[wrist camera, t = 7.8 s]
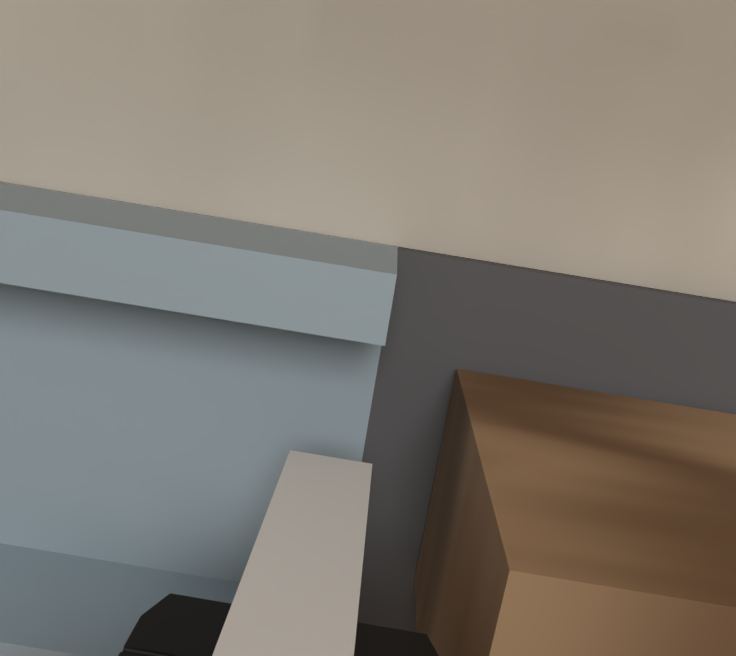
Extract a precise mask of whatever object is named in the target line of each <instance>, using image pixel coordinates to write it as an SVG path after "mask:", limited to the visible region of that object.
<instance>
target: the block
mask: <svg viewBox="0 0 736 656" xmlns="http://www.w3.org/2000/svg"><path fill="white" fill-rule="evenodd" d="M415 601H416V629H417V632H418V633H423V634H427V636H428V638H429V639H430V641H431V643H432V645H433V646H434V648H435V650H436V652H437V653H438V655H439V656H736V414H730V413H724V412H718V411H712V410H706V409H700V408H694V407H688V406H681V405H675V404H669V403H663V402H657V401H651V400H645V399H639V398H633V397H627V396H620V395H614V394H608V393H602V392H596V391H590V390H584V389H578V388H572V387H566V386H559V385H553V384H547V383H541V382H535V381H529V380H523V379H517V378H511V377H505V376H498V375H492V374H486V373H480V372H474V371H468V370H462V369H457V370H456V375H455V380H454V385H453V390H452V395H451V400H450V405H449V410H448V415H447V420H446V425H445V430H444V435H443V440H442V445H441V450H440V455H439V460H438V465H437V470H436V475H435V480H434V485H433V490H432V495H431V500H430V505H429V510H428V515H427V519H426V524H425V529H424V534H423V539H422V544H421V549H420V554H419V559H418V564H417V569H416V574H415Z"/></svg>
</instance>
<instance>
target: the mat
mask: <svg viewBox="0 0 736 656" xmlns="http://www.w3.org/2000/svg"><path fill="white" fill-rule="evenodd" d="M457 369H462V370H468V371H474V372H480V373H486V374H492V375H498V376H505V377H511V378H517V379H523V380H529V381H535V382H541V383H547V384H553V385H559V386H566V387H572V388H578V389H584V390H590V391H596V392H602V393H608V394H614V395H620V396H627V397H633V398H639V399H645V400H651V401H657V402H663V403H669V404H675V405H681V406H688V407H694V408H700V409H706V410H712V411H718V412H724V413H730V414H736V302H733V301H727V300H721V299H715V298H708V297H702V296H696V295H690V294H684V293H678V292H672V291H666V290H660V289H653V288H647V287H641V286H635V285H629V284H623V283H617V282H611V281H604V280H598V279H592V278H586V277H580V276H574V275H568V274H562V273H555V272H549V271H543V270H537V269H531V268H525V267H519V266H513V265H506V264H500V263H494V262H488V261H482V260H476V259H470V258H464V257H458V256H451V255H445V254H439V253H433V252H427V251H421V250H415V249H409V248H402V247H398V255H397V278H396V284H395V290H394V296H393V302H392V307H391V313H390V319H389V325H388V331H387V337H386V343H385V346H381V351H380V356H379V362H378V368H377V374H376V380H375V386H374V392H373V398H372V404H371V410H370V416H369V421H368V427H367V433H366V439H365V445H364V451H363V457H362V462H364V463H370V464H372V473H371V484H370V494H369V504H368V515H367V525H366V535H365V546H364V556H363V566H362V577H361V587H360V597H359V608H358V618H357V622H358V623H364V624H370V625H376V626H382V627H388V628H394V629H400V630H406V631H412V632H417V629H416V601H415V574H416V569H417V564H418V559H419V554H420V549H421V544H422V539H423V534H424V529H425V524H426V519H427V515H428V510H429V505H430V500H431V495H432V490H433V485H434V480H435V475H436V470H437V465H438V460H439V455H440V450H441V445H442V440H443V435H444V430H445V425H446V420H447V415H448V410H449V405H450V400H451V395H452V390H453V385H454V380H455V375H456V370H457Z"/></svg>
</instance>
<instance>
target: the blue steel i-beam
mask: <svg viewBox="0 0 736 656" xmlns="http://www.w3.org/2000/svg"><path fill="white" fill-rule="evenodd" d="M397 255H398V247H396V246H390V245H384V244H378V243H372V242H366V241H360V240H353V239H347V238H341V237H335V236H329V235H323V234H317V233H311V232H304V231H298V230H292V229H286V228H280V227H274V226H268V225H262V224H256V223H249V222H243V221H237V220H231V219H225V218H219V217H213V216H207V215H200V214H194V213H188V212H182V211H176V210H170V209H164V208H158V207H151V206H145V205H139V204H133V203H127V202H121V201H115V200H109V199H102V198H96V197H90V196H84V195H78V194H72V193H66V192H60V191H54V190H47V189H41V188H35V187H29V186H23V185H17V184H11V183H5V182H0V656H118V655H119V653H120V652H122V651H123V648H124V645H125V643H126V641H127V639H128V638H129V636H130V634H131V632H132V630H133V629H134V627H135V625H136V623H137V622H138V620H139V618H140V616H141V615H142V614H144V613H145V612H146V611H148V610H149V609H150V608H152V607H153V606H154V605H155V604H157V603H158V602H159V601H161V600H162V599H163V598H165V597H166V596H167V595H168V594H170V593H172V594H178V595H184V596H190V597H195V598H201V599H207V600H213V601H219V602H225V603H231V604H232V602H233V599H234V597H235V594H236V592H237V589H238V586H239V584H240V581H241V578H242V576H243V573H244V570H245V568H246V565H247V562H248V560H249V557H250V555H251V552H252V549H253V547H254V544H255V541H256V539H257V536H258V533H259V531H260V528H261V526H262V523H263V520H264V518H265V515H266V512H267V510H268V507H269V504H270V502H271V499H272V496H273V494H274V491H275V489H276V486H277V483H278V481H279V478H280V475H281V473H282V470H283V467H284V465H285V462H286V460H287V457H288V454H289V452H290V450H293V451H299V452H305V453H311V454H317V455H323V456H329V457H335V458H341V459H347V460H353V461H359V462H362V457H363V451H364V445H365V439H366V433H367V427H368V421H369V416H370V410H371V404H372V398H373V392H374V386H375V380H376V374H377V368H378V362H379V356H380V351H381V346H385V343H386V337H387V331H388V325H389V319H390V313H391V307H392V302H393V296H394V290H395V284H396V278H397Z"/></svg>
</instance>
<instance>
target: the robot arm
mask: <svg viewBox="0 0 736 656" xmlns="http://www.w3.org/2000/svg"><path fill="white" fill-rule="evenodd" d="M371 473H372V464H370V463H364V462H359V461H353V460H347V459H341V458H335V457H329V456H323V455H317V454H311V453H305V452H299V451H293V450H290V452H289V454H288V457H287V460H286V462H285V465H284V467H283V470H282V473H281V475H280V478H279V481H278V483H277V486H276V489H275V491H274V494H273V496H272V499H271V502H270V504H269V507H268V510H267V512H266V515H265V518H264V520H263V523H262V526H261V528H260V531H259V533H258V536H257V539H256V541H255V544H254V547H253V549H252V552H251V555H250V557H249V560H248V562H247V565H246V568H245V570H244V573H243V576H242V578H241V581H240V584H239V586H238V589H237V592H236V594H235V597H234V599H233V602H232V604H231V603H225V602H219V601H213V600H207V599H201V598H195V597H190V596H184V595H178V594H172V593H170V594H168V595H167V596H166V597H165V598H163V599H162V600H161V601H159V602H158V603H157V604H155V605H154V606H153V607H152V608H150V609H149V610H148V611H146V612H145V613H144V614H142V615H141V616H140V618H139V620H138V622H137V623H136V625H135V627H134V629H133V630H132V632H131V634H130V636H129V638H128V639H127V641H126V643H125V645H124V648H123V651H122V652H120V653H119V655H118V656H439V655H438V653H437V652H436V650H435V648H434V646H433V645H432V643H431V641H430V639H429V638H428V636H427V634H423V633H418V632H412V631H406V630H400V629H394V628H388V627H382V626H376V625H370V624H364V623H358V622H357V618H358V608H359V597H360V587H361V577H362V566H363V556H364V546H365V535H366V525H367V515H368V504H369V494H370V484H371Z"/></svg>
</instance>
